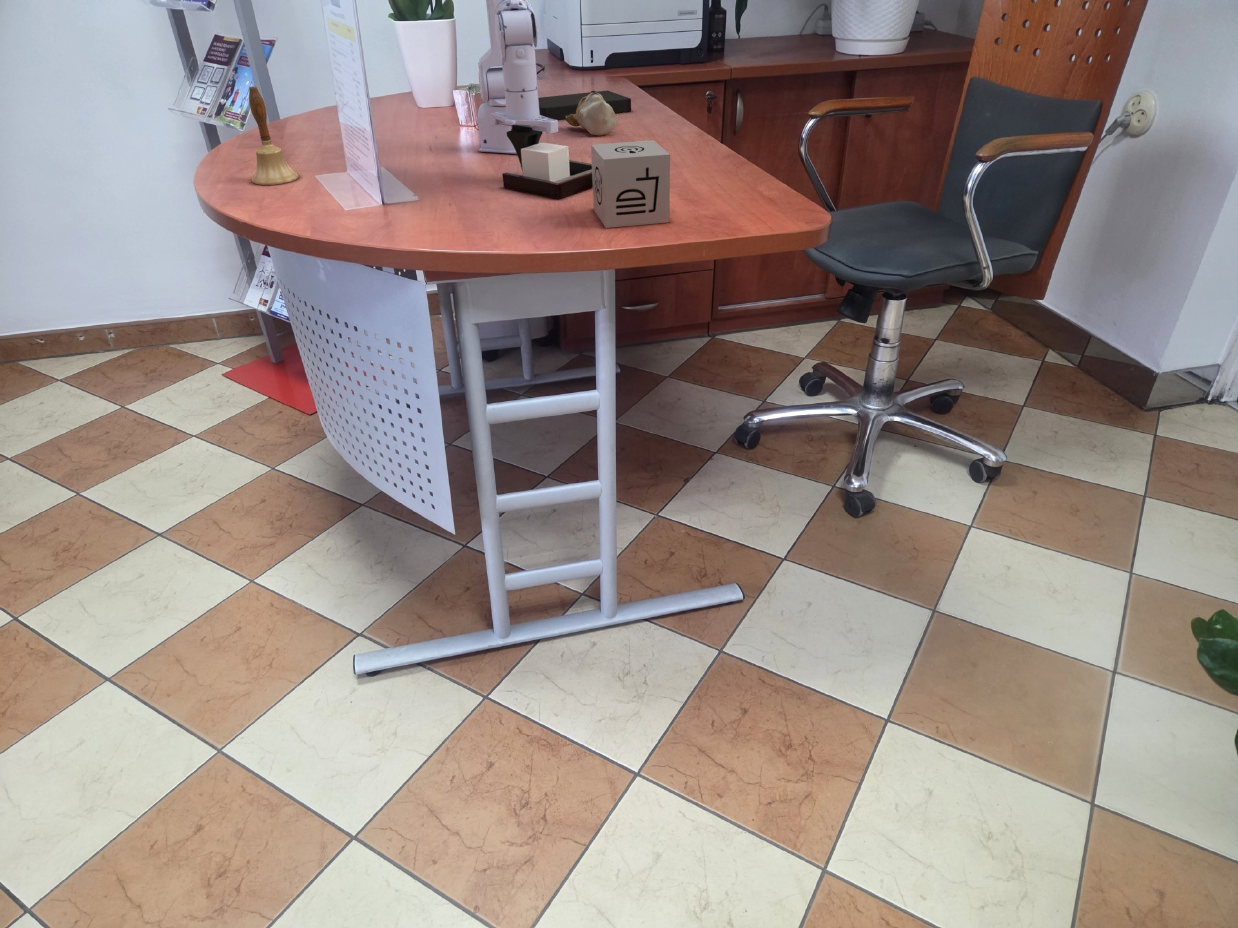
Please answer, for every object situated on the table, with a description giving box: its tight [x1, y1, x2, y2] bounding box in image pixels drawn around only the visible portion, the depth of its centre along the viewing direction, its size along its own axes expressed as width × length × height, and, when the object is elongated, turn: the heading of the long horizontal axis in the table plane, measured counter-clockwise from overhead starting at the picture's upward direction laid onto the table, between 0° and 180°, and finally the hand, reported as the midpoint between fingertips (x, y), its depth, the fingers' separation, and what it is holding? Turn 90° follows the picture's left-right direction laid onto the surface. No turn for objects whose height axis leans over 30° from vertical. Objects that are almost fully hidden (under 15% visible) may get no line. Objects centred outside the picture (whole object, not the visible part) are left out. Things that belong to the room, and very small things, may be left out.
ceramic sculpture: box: [564, 90, 617, 137], centre depth 178 cm, size 11×9×15 cm
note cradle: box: [502, 159, 593, 200], centre depth 142 cm, size 13×14×3 cm
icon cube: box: [590, 139, 671, 229], centre depth 124 cm, size 10×10×10 cm
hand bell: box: [248, 85, 299, 186], centre depth 146 cm, size 8×8×16 cm
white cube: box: [521, 142, 570, 182], centre depth 143 cm, size 6×6×6 cm
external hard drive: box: [538, 90, 632, 121], centre depth 199 cm, size 14×23×3 cm, turn 115°
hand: (527, 171), depth 146 cm, fingers closed
